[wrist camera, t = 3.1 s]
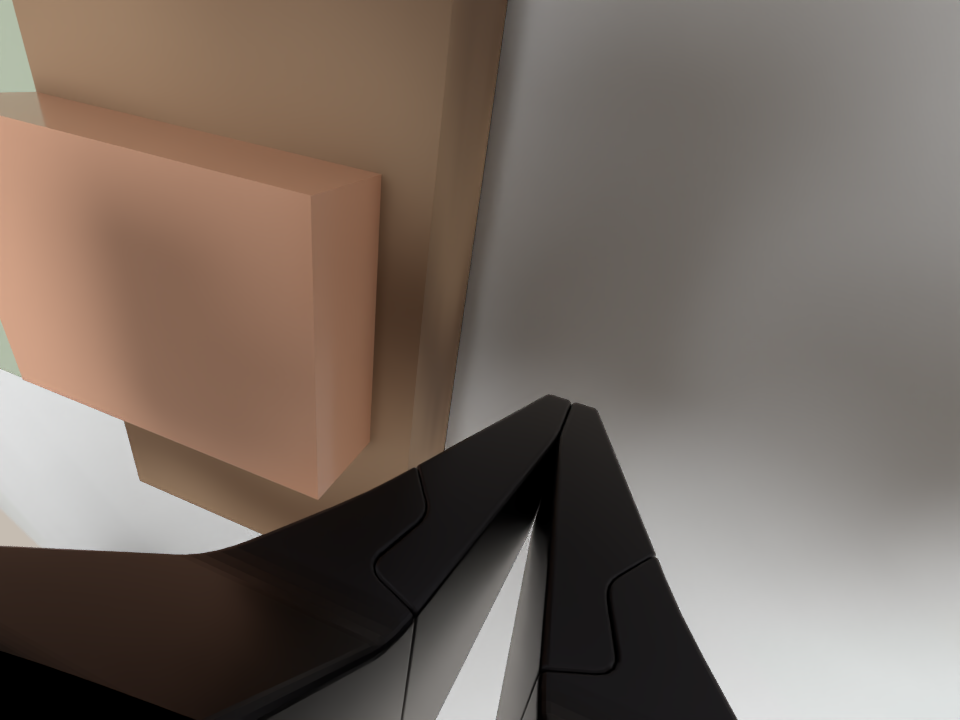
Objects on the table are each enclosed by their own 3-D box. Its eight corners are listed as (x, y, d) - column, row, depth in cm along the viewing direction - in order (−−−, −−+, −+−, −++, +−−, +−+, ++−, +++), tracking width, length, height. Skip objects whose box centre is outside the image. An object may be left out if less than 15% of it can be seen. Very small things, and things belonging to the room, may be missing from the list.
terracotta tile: (369, 441, 12) (318, 499, 10) (103, 343, 14) (23, 379, 12) (382, 174, 9) (310, 195, 7) (36, 91, 11) (-84, 94, 9)
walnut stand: (433, 527, 16) (395, 592, 14) (201, 435, 18) (139, 480, 16) (530, -163, 8) (476, -246, 6) (94, -193, 10) (-58, -265, 8)
